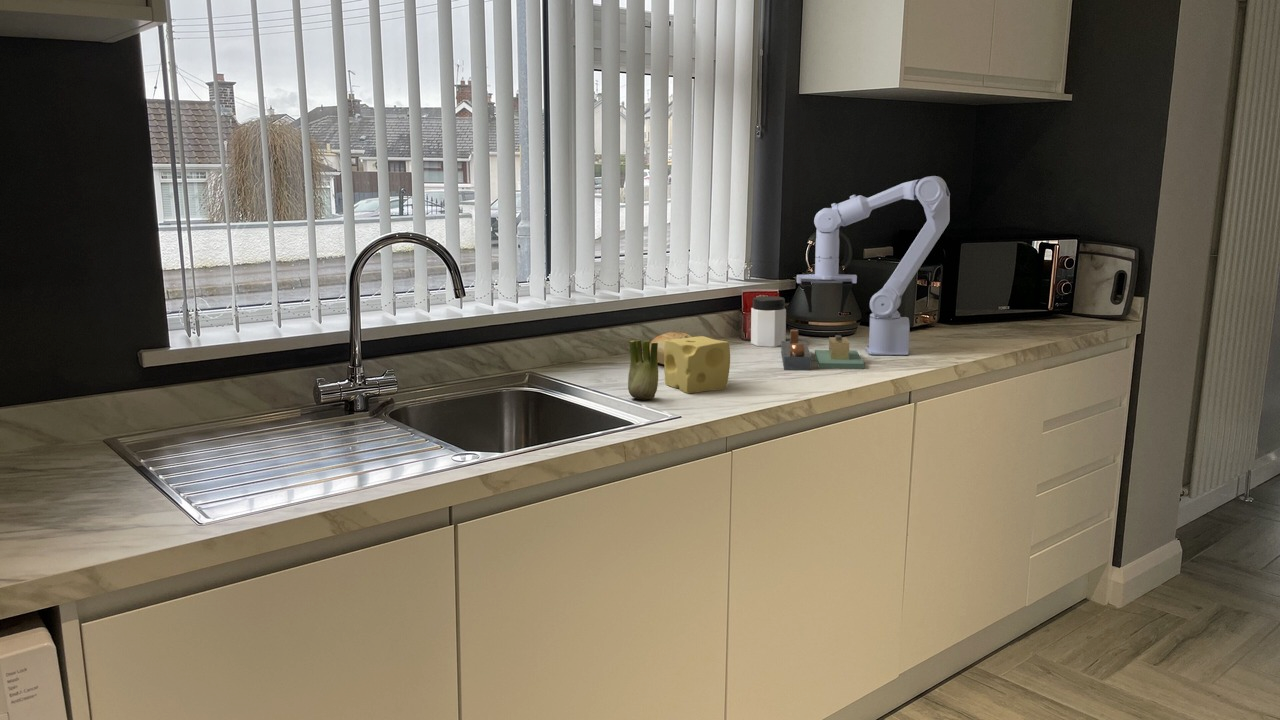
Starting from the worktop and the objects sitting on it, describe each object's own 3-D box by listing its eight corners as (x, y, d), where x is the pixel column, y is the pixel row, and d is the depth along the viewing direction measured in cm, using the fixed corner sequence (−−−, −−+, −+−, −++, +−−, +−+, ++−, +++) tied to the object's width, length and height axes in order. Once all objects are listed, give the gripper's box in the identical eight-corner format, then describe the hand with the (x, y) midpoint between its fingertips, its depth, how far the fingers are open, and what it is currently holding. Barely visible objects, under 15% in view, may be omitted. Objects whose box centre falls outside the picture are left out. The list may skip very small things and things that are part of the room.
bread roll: (668, 359, 235) (667, 326, 234) (711, 368, 224) (711, 334, 222) (637, 364, 229) (637, 331, 228) (680, 374, 218) (680, 339, 216)
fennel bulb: (661, 399, 194) (661, 340, 192) (643, 403, 191) (642, 343, 189) (642, 394, 199) (641, 336, 196) (623, 398, 195) (622, 339, 193)
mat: (856, 355, 236) (856, 350, 236) (863, 368, 221) (864, 363, 221) (814, 354, 238) (814, 350, 237) (819, 368, 222) (819, 363, 222)
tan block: (828, 353, 233) (829, 334, 232) (845, 353, 232) (846, 334, 231) (831, 359, 226) (831, 339, 225) (848, 359, 225) (849, 340, 224)
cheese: (687, 394, 198) (687, 346, 196) (662, 384, 208) (661, 338, 206) (730, 388, 203) (731, 341, 201) (703, 379, 212) (703, 334, 211)
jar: (769, 348, 246) (770, 301, 244) (744, 344, 252) (745, 298, 250) (791, 343, 252) (792, 297, 250) (766, 340, 258) (767, 295, 256)
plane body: (781, 353, 240) (781, 329, 239) (805, 353, 240) (806, 329, 239) (784, 369, 221) (784, 343, 220) (810, 370, 220) (811, 343, 219)
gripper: (798, 258, 237) (797, 314, 240) (858, 258, 236) (857, 314, 238) (796, 256, 244) (795, 309, 247) (855, 256, 243) (853, 310, 245)
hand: (825, 311), depth 243 cm, fingers open, 7 cm apart
